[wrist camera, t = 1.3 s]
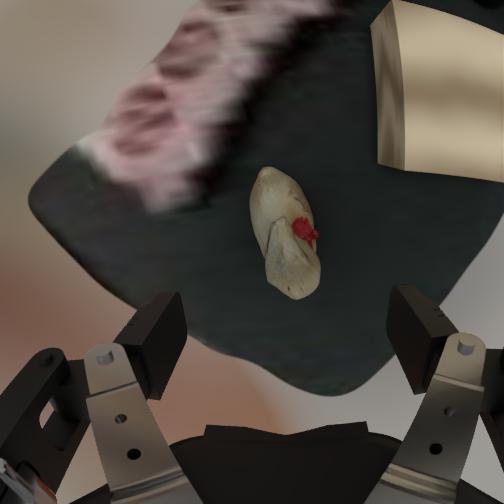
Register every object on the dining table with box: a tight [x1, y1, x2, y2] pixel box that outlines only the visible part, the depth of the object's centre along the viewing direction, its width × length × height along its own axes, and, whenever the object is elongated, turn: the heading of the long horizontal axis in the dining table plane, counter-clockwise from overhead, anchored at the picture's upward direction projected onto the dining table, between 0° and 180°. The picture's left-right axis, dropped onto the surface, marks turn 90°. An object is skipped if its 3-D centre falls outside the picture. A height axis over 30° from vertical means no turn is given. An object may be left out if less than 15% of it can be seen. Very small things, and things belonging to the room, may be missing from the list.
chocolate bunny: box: [250, 166, 321, 300], centre depth 20 cm, size 6×8×10 cm
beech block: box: [370, 0, 504, 182], centre depth 17 cm, size 12×12×6 cm
